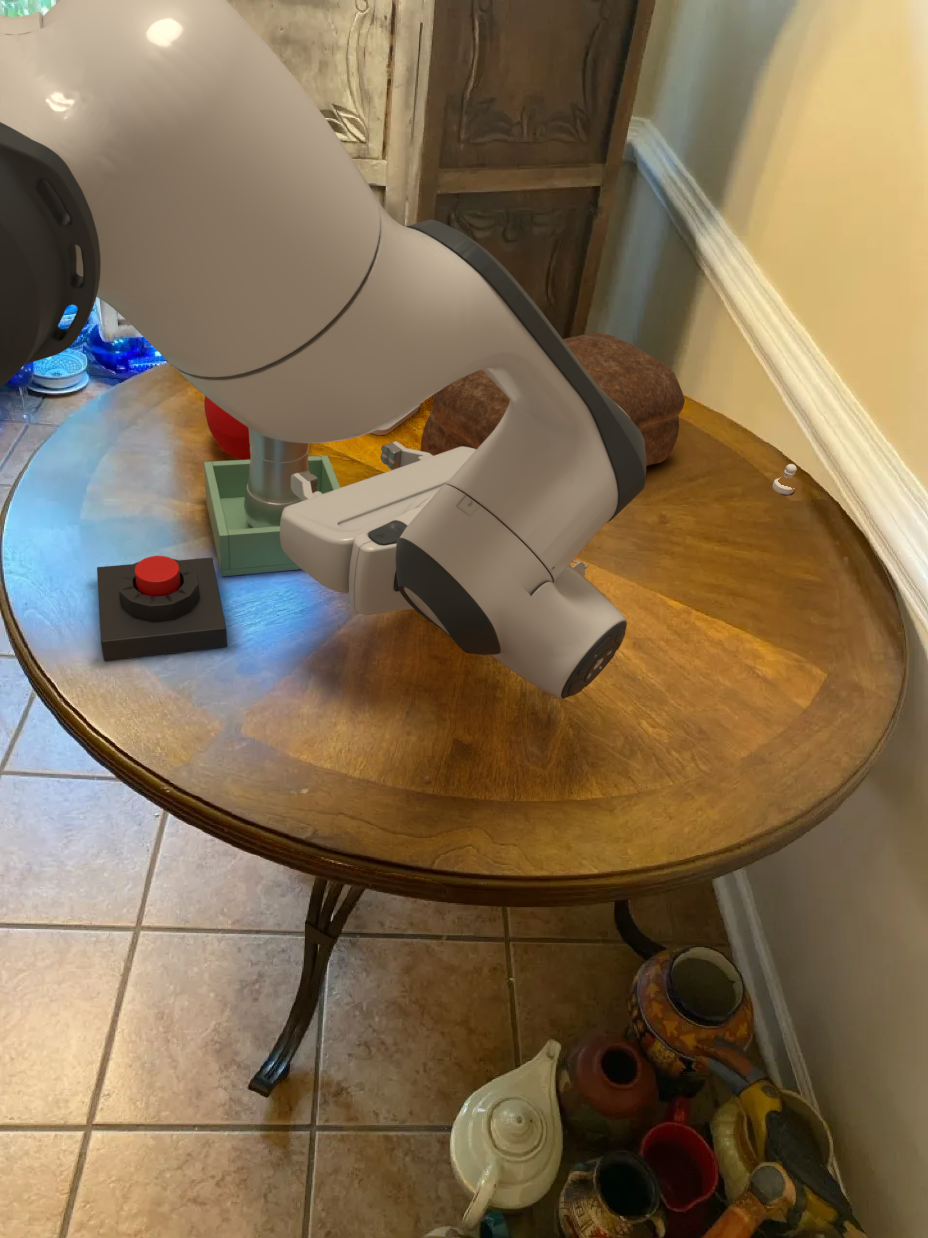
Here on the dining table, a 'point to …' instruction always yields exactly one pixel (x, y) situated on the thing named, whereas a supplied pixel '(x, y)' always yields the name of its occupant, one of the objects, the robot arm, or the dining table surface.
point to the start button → (157, 576)
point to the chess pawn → (789, 472)
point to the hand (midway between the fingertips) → (344, 464)
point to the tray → (231, 530)
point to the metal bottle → (272, 478)
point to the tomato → (227, 431)
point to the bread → (613, 365)
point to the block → (160, 613)
